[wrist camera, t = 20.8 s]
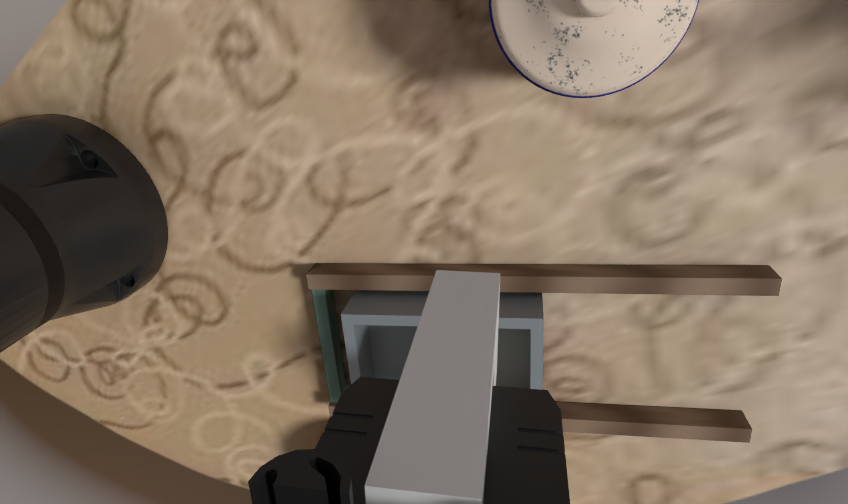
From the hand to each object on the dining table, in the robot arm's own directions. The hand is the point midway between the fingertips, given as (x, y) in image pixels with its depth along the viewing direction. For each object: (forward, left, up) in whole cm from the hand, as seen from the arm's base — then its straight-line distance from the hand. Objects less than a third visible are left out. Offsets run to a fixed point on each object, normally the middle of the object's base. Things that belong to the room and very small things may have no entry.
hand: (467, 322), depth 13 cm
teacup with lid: (+6, +8, -25) cm, 27 cm away
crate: (-4, -16, -24) cm, 29 cm away
